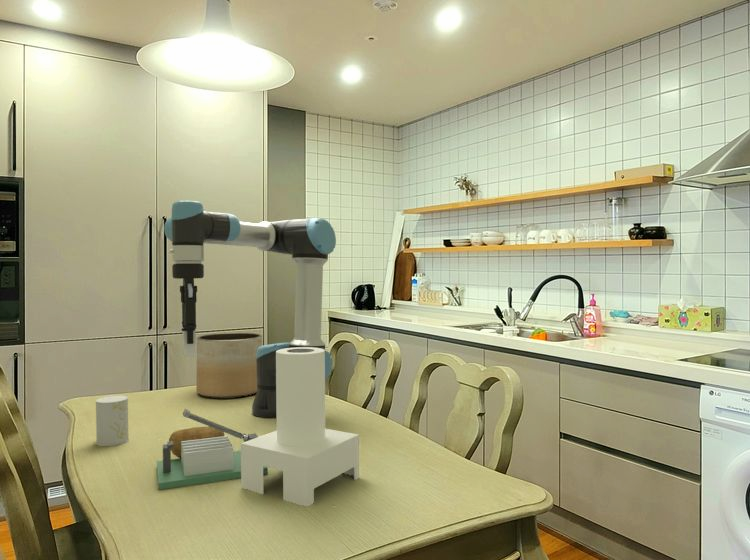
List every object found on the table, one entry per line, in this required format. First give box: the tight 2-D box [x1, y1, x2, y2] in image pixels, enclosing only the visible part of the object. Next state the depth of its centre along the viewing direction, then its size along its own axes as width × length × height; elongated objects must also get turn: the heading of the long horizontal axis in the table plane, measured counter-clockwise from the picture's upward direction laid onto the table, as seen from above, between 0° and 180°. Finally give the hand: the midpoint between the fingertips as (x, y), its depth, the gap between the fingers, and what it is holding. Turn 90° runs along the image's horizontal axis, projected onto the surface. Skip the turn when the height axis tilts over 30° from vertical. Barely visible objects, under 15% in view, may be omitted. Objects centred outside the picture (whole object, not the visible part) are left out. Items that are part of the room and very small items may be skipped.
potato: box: [168, 426, 226, 459], centre depth 142 cm, size 10×14×8 cm
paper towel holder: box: [240, 347, 360, 507], centre depth 126 cm, size 19×19×30 cm
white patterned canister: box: [95, 395, 130, 447], centre depth 157 cm, size 8×8×12 cm
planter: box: [196, 332, 263, 399], centre depth 218 cm, size 25×25×22 cm
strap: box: [182, 408, 248, 442], centre depth 134 cm, size 17×3×1 cm, turn 113°
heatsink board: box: [156, 432, 269, 491], centre depth 133 cm, size 24×15×8 cm, turn 113°
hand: (189, 355), depth 141 cm, fingers open, 4 cm apart
